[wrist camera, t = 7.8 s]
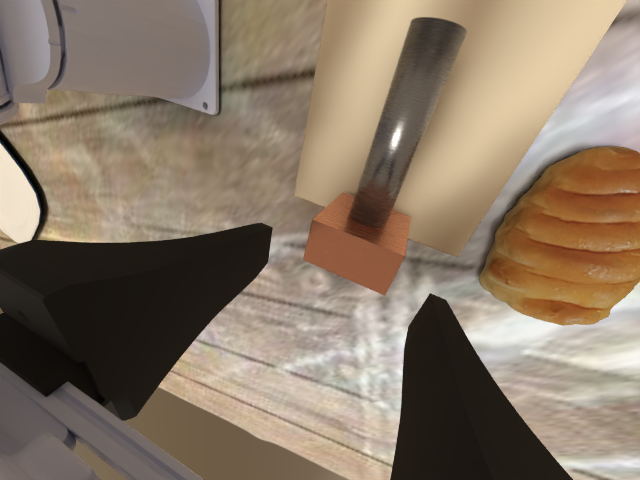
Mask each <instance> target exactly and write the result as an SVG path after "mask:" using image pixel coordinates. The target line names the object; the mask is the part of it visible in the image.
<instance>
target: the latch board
mask: <svg viewBox="0 0 640 480" xmlns="http://www.w3.org/2000/svg"><path fill="white" fill-rule="evenodd" d="M626 1H627V0H328V2H327V8H326V14H325V19H324V25H323V31H322V37H321V42H320V48H319V54H318V60H317V65H316V71H315V77H314V83H313V88H312V94H311V100H310V106H309V111H308V117H307V123H306V129H305V134H304V140H303V146H302V152H301V157H300V163H299V169H298V175H297V180H296V186H295V192H294V196H297V197H300V198H302V199H305V200H308V201H310V202H313V203H316V204H318V205H321V206H323V207H327V206H328V205H329V204H330V203H331V202H332V201H333V200H335V199H336V198H337V197H338V196H339V195H340V194H341V193H342V192H343V193H346V194H349V195H352V196H354V197H355V194H356V191H357V188H358V185H359V181H360V178H361V175H362V172H363V169H364V166H365V163H366V160H367V156H368V153H369V150H370V147H371V144H372V141H373V138H374V135H375V131H376V128H377V125H378V122H379V119H380V116H381V113H382V110H383V106H384V103H385V100H386V97H387V94H388V91H389V88H390V84H391V81H392V78H393V75H394V72H395V69H396V66H397V63H398V59H399V56H400V53H401V50H402V47H403V44H404V41H405V38H406V34H407V31H408V28H409V25H410V22H411V20H412V19H414V18H419V17H433V18H440V19H444V20H448V21H452V22H455V23H457V24H459V25H461V26H463V27H464V28H465V29H466V30H467V34H466V37H465V39H464V41H463V44H462V46H461V48H460V51H459V53H458V56H457V58H456V60H455V63H454V65H453V67H452V70H451V72H450V74H449V77H448V79H447V82H446V84H445V86H444V89H443V91H442V93H441V96H440V98H439V100H438V103H437V105H436V108H435V110H434V112H433V115H432V117H431V119H430V122H429V124H428V126H427V129H426V131H425V134H424V136H423V138H422V141H421V143H420V145H419V148H418V150H417V153H416V155H415V157H414V160H413V162H412V164H411V167H410V169H409V171H408V174H407V176H406V179H405V181H404V183H403V186H402V188H401V190H400V193H399V195H398V197H397V200H396V202H395V205H394V207H393V209H392V210H393V211H396V212H399V213H402V214H405V215H407V216H410V217H411V221H410V227H409V234H408V239H411V240H413V241H416V242H419V243H421V244H424V245H427V246H429V247H432V248H434V249H437V250H440V251H442V252H445V253H448V254H450V255H453V256H456V257H458V255H459V254H460V252H461V251H462V249H463V248H464V246H465V245H466V243H467V242H468V240H469V239H470V237H471V236H472V234H473V233H474V231H475V230H476V228H477V227H478V225H479V224H480V222H481V220H482V219H483V217H484V216H485V214H486V213H487V211H488V210H489V208H490V207H491V205H492V204H493V202H494V201H495V199H496V198H497V196H498V195H499V193H500V192H501V190H502V189H503V187H504V186H505V184H506V183H507V181H508V180H509V178H510V177H511V175H512V174H513V172H514V171H515V169H516V167H517V166H518V164H519V163H520V161H521V160H522V158H523V157H524V155H525V154H526V152H527V151H528V149H529V148H530V146H531V145H532V143H533V142H534V140H535V139H536V137H537V136H538V134H539V133H540V131H541V130H542V128H543V127H544V125H545V124H546V122H547V121H548V119H549V117H550V116H551V114H552V113H553V111H554V110H555V108H556V107H557V105H558V104H559V102H560V101H561V99H562V98H563V96H564V95H565V93H566V92H567V90H568V89H569V87H570V86H571V84H572V83H573V81H574V80H575V78H576V77H577V75H578V74H579V72H580V71H581V69H582V67H583V66H584V64H585V63H586V61H587V60H588V58H589V57H590V55H591V54H592V52H593V51H594V49H595V48H596V46H597V45H598V43H599V42H600V40H601V39H602V37H603V36H604V34H605V33H606V31H607V30H608V28H609V27H610V25H611V24H612V22H613V21H614V19H615V18H616V16H617V14H618V13H619V11H620V10H621V8H622V7H623V5H624V4H625V2H626Z"/></svg>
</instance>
